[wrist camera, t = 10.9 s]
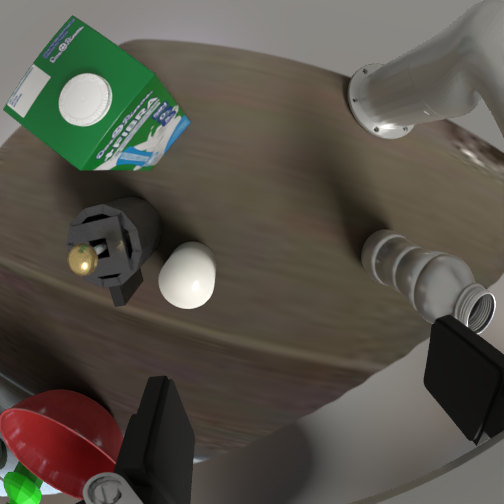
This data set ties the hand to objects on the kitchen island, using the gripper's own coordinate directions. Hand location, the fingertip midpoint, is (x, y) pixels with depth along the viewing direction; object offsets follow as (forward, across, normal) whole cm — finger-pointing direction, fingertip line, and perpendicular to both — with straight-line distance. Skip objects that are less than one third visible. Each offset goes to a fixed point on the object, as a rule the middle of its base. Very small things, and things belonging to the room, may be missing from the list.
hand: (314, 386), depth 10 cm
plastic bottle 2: (+36, -20, +8) cm, 42 cm away
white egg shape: (+36, +9, +5) cm, 38 cm away
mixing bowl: (+36, +41, +34) cm, 65 cm away
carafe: (+36, +17, -1) cm, 40 cm away
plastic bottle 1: (+36, +63, +48) cm, 87 cm away
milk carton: (+36, +12, -16) cm, 42 cm away
